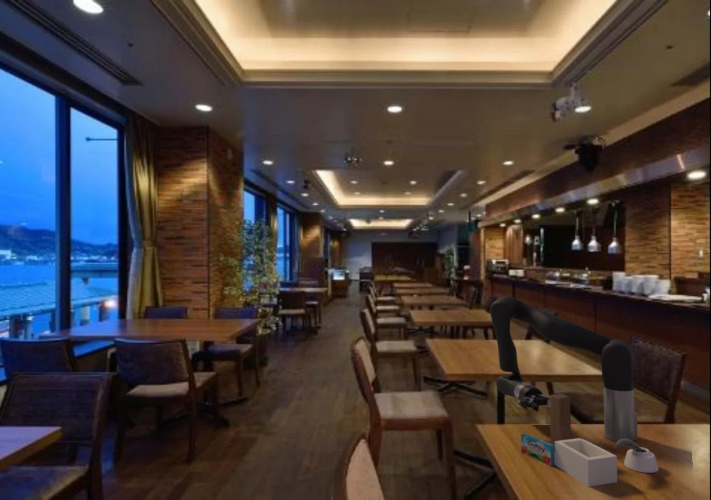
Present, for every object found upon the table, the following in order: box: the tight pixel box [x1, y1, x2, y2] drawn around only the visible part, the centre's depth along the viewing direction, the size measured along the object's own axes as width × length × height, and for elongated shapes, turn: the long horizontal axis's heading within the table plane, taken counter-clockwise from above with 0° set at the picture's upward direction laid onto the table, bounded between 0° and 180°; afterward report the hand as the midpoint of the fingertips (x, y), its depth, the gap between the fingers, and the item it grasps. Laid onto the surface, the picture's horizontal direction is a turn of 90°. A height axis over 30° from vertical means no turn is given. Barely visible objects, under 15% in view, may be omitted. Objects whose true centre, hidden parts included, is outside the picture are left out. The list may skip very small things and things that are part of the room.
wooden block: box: [549, 393, 576, 452], centre depth 161 cm, size 9×4×18 cm, turn 20°
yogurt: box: [520, 433, 555, 467], centre depth 158 cm, size 12×2×6 cm, turn 28°
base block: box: [554, 437, 618, 488], centre depth 147 cm, size 10×14×8 cm, turn 14°
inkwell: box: [613, 438, 660, 474], centre depth 148 cm, size 9×18×10 cm, turn 124°
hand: (549, 408), depth 171 cm, fingers open, 8 cm apart
